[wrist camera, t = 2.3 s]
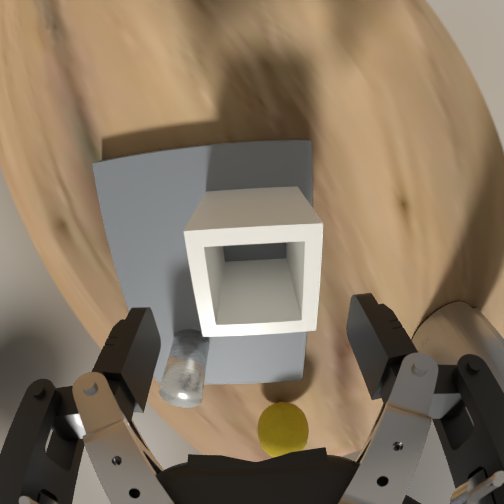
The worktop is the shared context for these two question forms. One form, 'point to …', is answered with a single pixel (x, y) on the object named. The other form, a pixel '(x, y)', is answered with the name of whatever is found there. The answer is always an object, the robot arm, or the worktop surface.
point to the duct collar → (255, 262)
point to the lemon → (282, 429)
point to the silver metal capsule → (185, 369)
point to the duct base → (174, 247)
